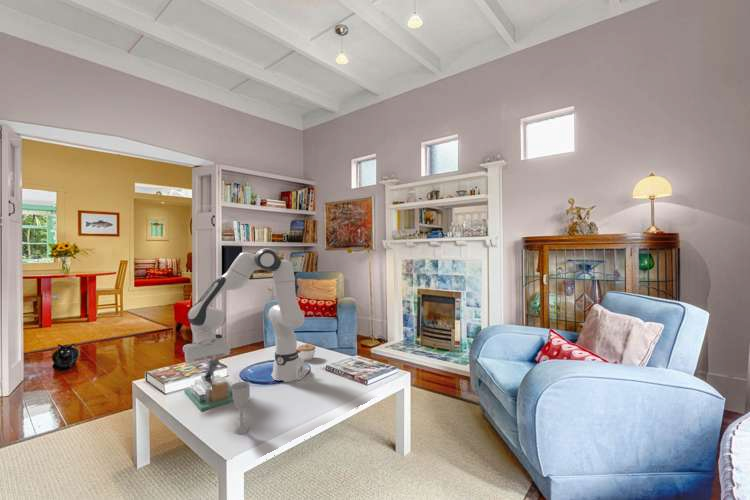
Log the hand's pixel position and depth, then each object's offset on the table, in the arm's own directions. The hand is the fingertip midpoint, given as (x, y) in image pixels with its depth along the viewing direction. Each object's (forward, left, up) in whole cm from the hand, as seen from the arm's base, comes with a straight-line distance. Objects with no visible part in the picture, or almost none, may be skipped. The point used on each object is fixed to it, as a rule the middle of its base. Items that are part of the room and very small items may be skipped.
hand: (211, 365), depth 169 cm
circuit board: (0, 0, -14) cm, 14 cm away
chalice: (+22, +34, -15) cm, 43 cm away
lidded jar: (-60, +18, -15) cm, 65 cm away
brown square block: (+4, +8, -13) cm, 16 cm away
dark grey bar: (-1, -1, -3) cm, 3 cm away
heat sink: (0, 0, -13) cm, 13 cm away
